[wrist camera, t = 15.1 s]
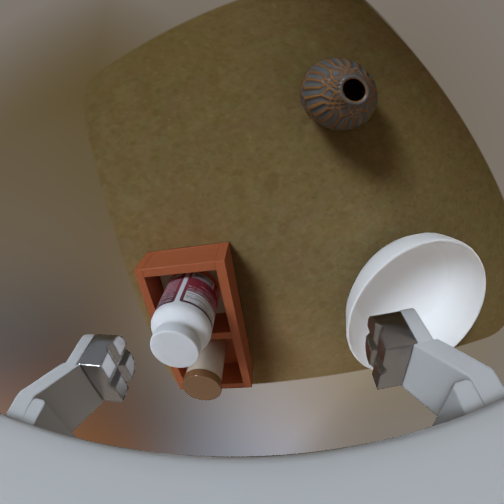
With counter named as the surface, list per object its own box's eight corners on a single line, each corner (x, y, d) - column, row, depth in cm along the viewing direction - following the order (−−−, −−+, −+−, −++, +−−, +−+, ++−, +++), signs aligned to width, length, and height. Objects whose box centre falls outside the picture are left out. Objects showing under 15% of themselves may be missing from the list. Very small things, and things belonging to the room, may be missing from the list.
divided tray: (186, 366, 43) (180, 389, 39) (147, 252, 35) (133, 270, 31) (252, 363, 42) (251, 387, 38) (229, 241, 35) (224, 260, 30)
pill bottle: (175, 309, 38) (151, 372, 28) (165, 266, 35) (132, 323, 25) (224, 308, 37) (211, 374, 27) (217, 263, 35) (200, 324, 25)
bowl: (454, 315, 38) (476, 345, 32) (343, 352, 41) (354, 389, 35) (456, 199, 31) (490, 219, 25) (320, 237, 34) (333, 267, 27)
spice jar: (187, 342, 40) (174, 386, 33) (208, 324, 39) (197, 370, 31) (213, 360, 42) (205, 404, 34) (234, 343, 40) (229, 390, 33)
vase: (288, 70, 26) (298, 53, 19) (353, 60, 26) (384, 44, 18) (305, 134, 29) (321, 141, 21) (368, 123, 28) (403, 127, 20)
